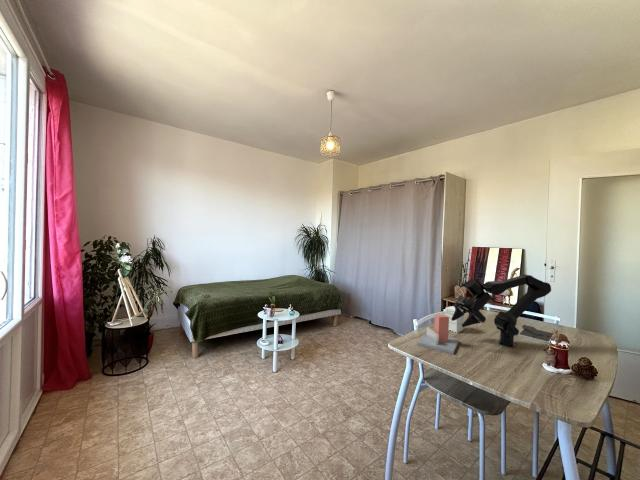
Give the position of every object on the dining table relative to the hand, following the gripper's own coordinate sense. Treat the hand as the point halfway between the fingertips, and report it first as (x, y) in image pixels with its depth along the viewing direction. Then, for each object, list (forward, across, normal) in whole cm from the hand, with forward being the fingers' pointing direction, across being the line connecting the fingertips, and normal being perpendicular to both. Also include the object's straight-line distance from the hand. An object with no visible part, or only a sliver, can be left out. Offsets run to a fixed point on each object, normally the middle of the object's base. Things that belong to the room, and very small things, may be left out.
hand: (456, 323), depth 134 cm
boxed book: (+12, 0, +1) cm, 12 cm away
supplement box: (+1, -19, +14) cm, 24 cm away
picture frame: (-28, -10, +45) cm, 54 cm away
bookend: (+15, 0, -3) cm, 15 cm away
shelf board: (+14, 0, +1) cm, 14 cm away
